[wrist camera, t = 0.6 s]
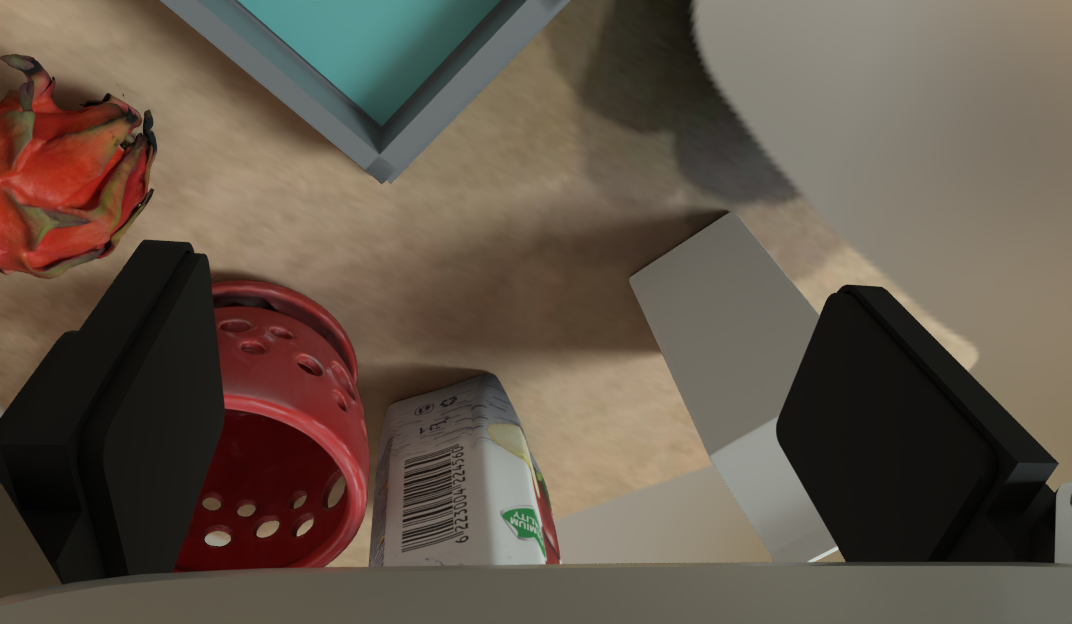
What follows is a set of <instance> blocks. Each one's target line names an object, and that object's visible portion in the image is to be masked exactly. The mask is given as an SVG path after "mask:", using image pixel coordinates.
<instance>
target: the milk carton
mask: <svg viewBox="0 0 1072 624" xmlns="http://www.w3.org/2000/svg"><path fill="white" fill-rule="evenodd" d="M629 282H630V285H631V287H632V289H633V291H634V293H635V296H636V298H637V300H638V302H639V304H640V307H641V309H642V311H643V313H644V315H645V317H646V320H647V322H648V324H649V326H650V328H651V331H652V333H653V335H654V337H655V339H656V342H657V344H658V346H659V348H660V350H661V352H662V355H663V357H664V359H665V361H666V363H667V366H668V368H669V370H670V372H671V374H672V377H673V379H674V381H675V383H676V385H677V387H678V390H679V392H680V394H681V396H682V398H683V401H684V403H685V405H686V407H687V409H688V412H689V414H690V416H691V418H692V420H693V422H694V425H695V427H696V429H697V431H698V433H699V436H700V438H701V440H702V442H703V444H704V447H705V449H706V451H707V453H708V455H709V458H710V460H711V461H712V463H713V465H714V466H715V468H716V469H717V471H718V473H719V474H720V476H721V477H722V479H723V480H724V482H725V484H726V485H727V487H728V488H729V490H730V491H731V493H732V495H733V496H734V498H735V500H736V501H737V503H738V504H739V506H740V507H741V509H742V511H743V512H744V514H745V515H746V517H747V519H748V520H749V522H750V523H751V525H752V527H753V528H754V529H755V531H756V533H757V534H758V536H759V538H760V539H761V541H762V542H763V544H764V546H765V547H766V549H767V550H768V552H769V553H770V555H771V557H772V559H773V561H774V562H815V561H817V560H819V559H821V558H822V557H825V556H826V555H828V554H830V553H832V552H834V551H836V550H838V547H837V545H836V543H835V542H834V540H833V538H832V536H831V535H830V533H829V531H828V529H827V527H826V526H825V524H824V522H823V520H822V519H821V517H820V515H819V513H818V512H817V510H816V508H815V506H814V505H813V503H812V501H811V499H810V498H809V496H808V494H807V492H806V491H805V489H804V487H803V485H802V484H801V482H800V480H799V478H798V476H797V475H796V473H795V471H794V469H793V468H792V466H791V464H790V462H789V461H788V459H787V457H786V455H785V454H784V452H783V450H782V448H781V447H780V445H779V443H778V440H777V436H776V423H777V420H778V417H779V415H780V412H781V410H782V407H783V405H784V403H785V400H786V398H787V395H788V393H789V390H790V388H791V385H792V383H793V381H794V378H795V376H796V373H797V371H798V368H799V366H800V363H801V361H802V359H803V356H804V354H805V351H806V349H807V346H808V344H809V341H810V339H811V337H812V334H813V332H814V329H815V327H816V324H817V322H818V319H819V317H820V315H819V314H818V312H817V311H816V310H815V309H814V308H813V306H812V305H811V304H810V303H809V301H808V300H807V299H806V298H805V297H804V295H803V294H802V293H801V292H800V290H799V289H798V288H797V287H796V286H795V284H794V283H793V282H792V281H791V280H790V278H789V277H788V276H787V275H786V273H785V272H784V271H783V270H782V269H781V267H780V266H779V265H778V264H777V263H776V261H775V260H774V259H773V258H772V256H771V255H770V254H769V253H768V252H767V250H766V249H765V248H764V247H763V246H762V244H761V243H760V242H759V241H758V239H757V238H756V237H755V236H754V235H753V233H752V232H751V231H750V230H749V229H748V227H747V226H746V225H745V224H744V222H743V221H742V220H741V219H740V218H739V216H738V215H737V214H736V213H735V212H730V213H728V214H726V215H725V216H723V217H721V218H720V219H718V220H717V221H715V222H714V223H712V224H711V225H709V226H708V227H706V228H704V229H703V230H701V231H700V232H698V233H697V234H695V235H694V236H692V237H691V238H689V239H688V240H686V241H685V242H683V243H681V244H680V245H678V246H677V247H675V248H674V249H672V250H671V251H669V252H668V253H666V254H665V255H663V256H662V257H660V258H658V259H657V260H655V261H654V262H652V263H651V264H649V265H648V266H646V267H645V268H643V269H642V270H640V271H639V272H637V273H636V274H634V275H633V276H631V277H630V278H629Z"/></svg>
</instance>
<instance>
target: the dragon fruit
mask: <svg viewBox="0 0 1072 624" xmlns="http://www.w3.org/2000/svg"><path fill="white" fill-rule="evenodd" d="M0 59H1V60H3V61H4V62H6V63H7V64H8V65H9V66H11V67H13V68H16V69H18V70H20V71H22V72H23V73H24V74H25V75H26V77H27V79H28V82H27V83H24V84H23V85H22V86H21V87H20V93H19V92H16V91H13V90H9V92H8V93H7V95H6V97H5V98H4V99H3V100H2V101H1V102H0V272H1V273H3V274H5V275H8V274H10V273H13V272H14V271H18V272H23V273H28V274H31V275H33V276H35V277H39V278H45V279H52V278H55V277H58V276H60V275H61V274H62V273H63V272H65V271H66V270H68V269H70V268H72V267H75V266H77V265H79V264H82V263H86V262H89V261H92V260H94V259H100V258H103V257H106V256H108V255H110V254H111V253H112V252H113V251H114V249H115V248H116V246H117V245H118V243H119V241H120V238H121V237H122V236H123V235H124V234H125V232H126V231H127V229H128V228H129V227H130V225H131V224H132V223H133V222H134V220H135V218H136V217H137V216H138V215H139V214H140V213H141V212H142V211H143V209H144V208H145V206H146V205H147V203H148V202H149V200H150V199H151V197H152V194H153V191H154V189H152V188H151V189H150V191H149V192H148V193H147V190H148V184H149V176H150V169H151V166H152V163H153V161H154V159H155V156H156V153H157V144H156V138H155V135H154V133H153V131H152V130H150V129H151V128H152V126H153V118H152V115H151V112H150V110H147V111H145V113H144V122H143V135H142V133H139V134H138V135H137V136H136V139H134V138H133V137H132V136H131V135H130V133H131V132H132V130H133V129H134V128H136V127H139V126H140V125H141V123H142V118H141V116H140V114H139V112H138V111H137V110H135V109H134V108H133V107H131V106H130V105H128V104H126V103H124V102H123V101H121V100H119V99H117V98H116V97H114V96H112V95H111V94H109V93H107V94H106V96H105V97H104V99H103V101H93V100H89V101H87V102H86V103H85V104H80V105H81V106H83V107H87V108H86V109H84V110H81V111H70V110H69V111H65V110H61V109H59V108H58V107H57V106H56V105H55V104H54V101H53V97H52V94H53V91H54V88H55V78H54V77H52V80H53V81H52V80H51V78H50V76H49V75H48V73H47V72H46V71H45V69H44V68H43V67H42V66H41V64H40V63H39V62H38V61H36V60H35V59H34V58H33V57H30V56H23V55H18V54H12V55H5V56H2V57H0ZM115 82H116V81H115ZM116 85H117V84H116ZM117 86H118V85H117ZM123 96H124V95H123ZM139 204H141V205H140V206H139ZM145 204H146V205H145ZM144 205H145V206H144ZM138 206H139V207H138ZM143 206H144V207H143ZM142 207H143V209H142ZM141 209H142V210H141ZM140 210H141V211H140Z"/></svg>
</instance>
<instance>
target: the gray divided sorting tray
mask: <svg viewBox="0 0 1072 624" xmlns="http://www.w3.org/2000/svg"><path fill="white" fill-rule="evenodd" d="M160 1H161V2H162V3H164V4H165V5H166V6H167V7H168V8H170V9H171V10H172V11H173V12H175V13H176V14H177V15H178V16H179V17H181V18H182V19H183V20H184V21H185V22H187V23H188V24H189V25H190V26H191V27H193V28H194V29H195V30H196V31H197V32H199V33H200V34H201V35H202V36H204V37H205V38H206V39H207V40H208V41H210V42H211V43H212V44H213V45H214V46H216V47H217V48H218V49H219V50H220V51H222V52H223V53H224V54H225V55H226V56H228V57H229V58H230V59H231V60H233V61H234V62H235V63H236V64H237V65H239V66H240V67H241V68H242V69H243V70H245V71H246V72H247V73H248V74H249V75H251V76H252V77H253V78H254V79H255V80H257V81H258V82H259V83H260V84H262V85H263V86H264V87H265V88H266V89H268V90H269V91H270V92H271V93H272V94H274V95H275V96H276V97H277V98H278V99H280V100H281V101H282V102H283V103H284V104H286V105H287V106H288V107H289V108H291V109H292V110H293V111H294V112H295V113H297V114H298V115H299V116H300V117H301V118H303V119H304V120H305V121H306V122H307V123H309V124H310V125H311V126H312V127H313V128H315V129H316V130H317V131H318V132H320V133H321V134H322V135H323V136H324V137H326V138H327V139H328V140H329V141H330V142H332V143H333V144H334V145H335V146H336V147H338V148H339V149H340V150H341V151H342V152H344V153H345V154H346V155H347V156H349V157H350V158H351V159H352V160H353V161H355V162H356V163H357V164H358V165H359V166H361V167H362V168H363V169H364V170H365V171H367V172H368V173H369V174H370V175H371V176H373V177H374V178H375V179H376V180H378V181H379V182H380V183H381V184H383V183H384V182H385V181H386V180H387V181H388V182H389V183H392V182H393V181H394V180H395V179H396V178H397V177H398V176H399V175H400V174H401V173H402V172H403V171H404V170H405V169H406V168H407V167H408V166H409V165H410V164H411V163H412V162H413V160H414V159H415V158H416V157H417V156H418V155H419V154H420V153H421V152H422V151H423V150H424V149H425V148H426V147H427V146H428V145H429V144H430V143H431V142H432V141H433V140H434V139H435V138H436V137H437V136H438V135H439V134H440V133H441V132H442V131H443V130H444V129H445V128H446V127H447V126H448V125H449V124H450V123H451V122H452V121H453V120H454V119H455V118H456V117H457V116H458V114H459V113H460V112H461V111H462V110H463V109H464V108H465V107H466V106H467V105H468V104H469V103H470V102H471V101H472V100H473V99H474V98H475V97H476V96H477V95H478V94H479V93H480V92H481V91H482V90H483V89H484V88H485V87H486V86H487V85H488V84H489V83H490V82H491V81H492V80H493V79H494V78H495V77H496V76H497V75H498V74H499V73H500V72H501V71H502V69H503V68H504V67H505V66H506V65H507V64H508V63H509V62H510V61H511V60H512V59H513V58H514V57H515V56H516V55H517V54H518V53H519V52H520V51H521V50H522V49H523V48H524V47H525V46H526V45H527V44H528V43H529V42H530V41H531V40H532V39H533V38H534V37H535V36H536V35H537V34H538V33H539V32H540V31H541V30H542V29H543V28H544V27H545V26H546V25H547V23H548V22H549V21H550V20H551V19H552V18H553V17H554V16H555V15H556V14H557V13H558V12H559V11H560V10H561V9H562V8H563V7H564V6H565V5H566V4H567V3H568V2H569V1H570V0H160Z"/></svg>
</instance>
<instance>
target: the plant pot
mask: <svg viewBox="0 0 1072 624" xmlns="http://www.w3.org/2000/svg"><path fill="white" fill-rule="evenodd" d="M211 286H212V295H213V304H214V313H215V322H216V331H217V340H218V349H219V358H220V367H221V376H222V385H223V394H224V403H225V416H224V424H223V428H222V432H221V435H220V438H219V441H218V443H217V446H216V449H215V452H214V455H213V458H212V461H211V464H210V466H209V469H208V472H207V475H206V478H205V481H204V484H203V487H202V489H201V492H200V495H199V498H198V501H197V504H196V507H195V510H194V512H193V515H192V518H191V521H190V524H189V527H188V530H187V532H186V535H185V538H184V541H183V544H182V547H181V550H180V553H179V555H178V558H177V561H176V564H175V567H174V570H173V573H179V572H200V571H221V570H242V569H265V568H319V567H325V566H326V565H328V564H329V563H330V562H332V561H333V560H334V559H335V558H336V557H338V556H339V555H340V554H341V553H342V552H343V551H344V550H345V549H346V548H347V546H348V545H349V544H350V543H351V541H352V540H353V538H354V537H355V535H356V534H357V532H358V530H359V528H360V526H361V523H362V521H363V518H364V515H365V510H366V506H367V494H368V479H369V444H368V435H367V429H366V423H365V419H364V411H363V406H362V402H361V399H360V396H359V392H358V390H357V387H356V383H357V360H356V356H355V352H354V349H353V346H352V344H351V342H350V340H349V338H348V336H347V334H346V332H345V331H344V330H343V328H342V327H341V325H340V324H339V323H338V322H337V321H336V319H335V318H334V317H333V316H332V315H331V314H330V313H329V312H328V311H327V310H325V309H324V308H323V307H322V306H320V305H319V304H318V303H316V302H315V301H313V300H311V299H310V298H308V297H306V296H304V295H302V294H300V293H298V292H296V291H293V290H291V289H288V288H285V287H281V286H278V285H274V284H271V283H266V282H257V281H245V280H235V281H224V282H218V283H213V284H211ZM342 475H343V477H344V479H345V482H346V485H345V490H344V493H343V495H342V497H341V499H340V500H339V501H338V503H337V504H336V505H334V506H333V507H330V508H328V497H329V494H330V492H331V490H332V488H333V486H334V484H335V483H336V482H337V480H338V479H339V478H340V477H341V476H342ZM305 495H307V498H306V500H305V502H304V504H303V505H302V506H300V507H298V508H295V509H294V503H295V502H296V501H297V500H298V499H299V498H300V497H302V496H305ZM210 497H212V498H216V499H218V500H219V501H220V502H221V507H220V508H219V509H217V510H215V511H214V510H208V509H206V508H204V507H203V505H202V502H203V500H205V499H206V498H210ZM246 504H252V505H254V506H255V507H256V510H255V512H254V513H253V514H252V515H250V516H247V517H243V516H239V515H238V514H237V510H238V509H239V508H240V507H241V506H243V505H246ZM313 518H314V523H313V526H312V527H311V528H310V529H309V530H308V531H307V532H306V533H305V534H303V535H301V536H298V537H297V531H298V529H299V528H300V526H301V525H302V524H303V523H304V522H306V521H308V520H310V519H313ZM274 520H275V521H279V522H280V524H279V528H278V529H277V531H276V532H275V533H274V534H272V535H270V536H268V537H265V538H260V537H258V536H257V535H256V533H257V530H258V528H259V527H260V526H261V525H262V524H263V523H265V522H268V521H274ZM214 531H222V532H226V533H227V534H229V535H230V536H231V541H230V542H229V543H228V544H226V545H224V546H220V547H219V546H211V545H208V544H207V543H206V542H205V540H204V539H205V537H206V536H207V535H208V534H209V533H211V532H214Z"/></svg>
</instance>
